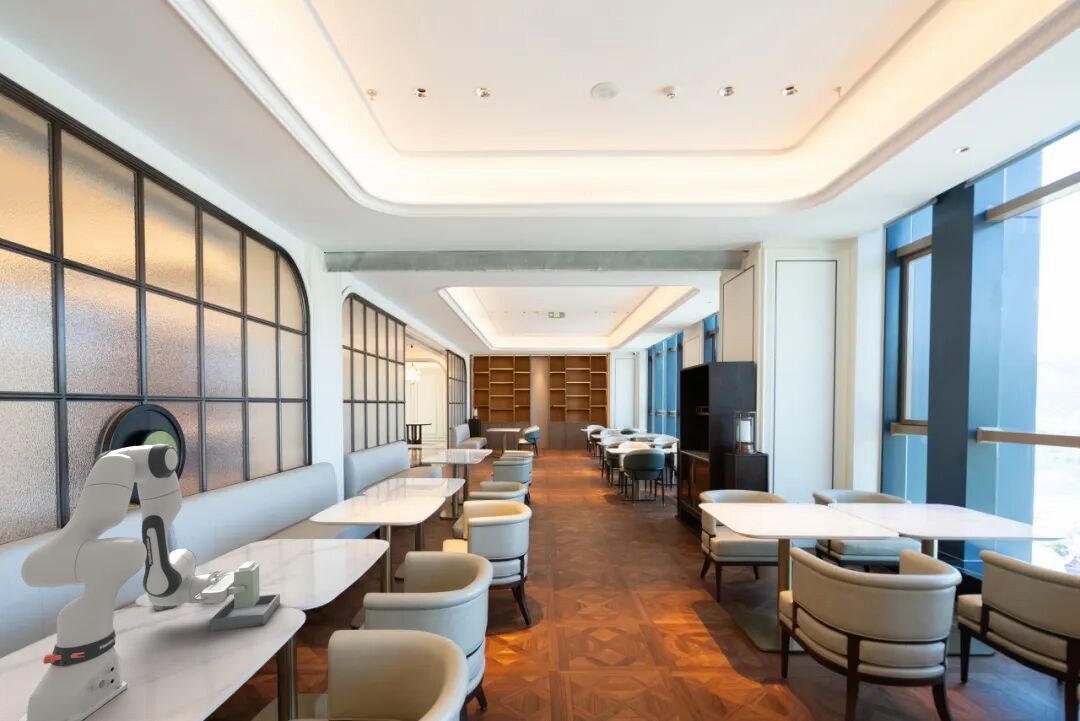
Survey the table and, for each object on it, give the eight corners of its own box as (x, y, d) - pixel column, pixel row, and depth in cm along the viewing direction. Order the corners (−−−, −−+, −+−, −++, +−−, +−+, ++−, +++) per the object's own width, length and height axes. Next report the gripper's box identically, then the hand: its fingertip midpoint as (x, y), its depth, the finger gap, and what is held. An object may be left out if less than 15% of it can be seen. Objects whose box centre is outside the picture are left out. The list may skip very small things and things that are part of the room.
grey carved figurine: (178, 607, 188) (178, 595, 188) (152, 612, 184) (152, 601, 184) (179, 597, 197) (179, 586, 197) (154, 603, 193) (154, 591, 193)
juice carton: (253, 606, 175) (253, 566, 176) (234, 608, 174) (234, 568, 175) (259, 599, 181) (259, 560, 182) (240, 601, 180) (240, 562, 181)
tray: (263, 625, 170) (263, 614, 170) (209, 631, 167) (209, 620, 167) (280, 603, 188) (279, 593, 188) (231, 608, 185) (231, 598, 185)
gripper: (191, 590, 166) (238, 586, 168) (217, 568, 186) (259, 564, 188) (191, 610, 165) (238, 605, 168) (217, 586, 185) (259, 582, 188)
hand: (249, 584), depth 178 cm, fingers closed on juice carton, 6 cm apart
